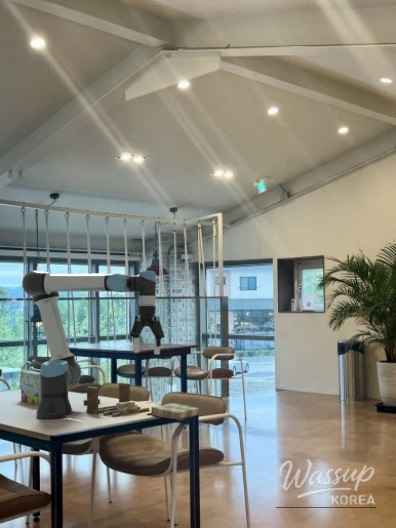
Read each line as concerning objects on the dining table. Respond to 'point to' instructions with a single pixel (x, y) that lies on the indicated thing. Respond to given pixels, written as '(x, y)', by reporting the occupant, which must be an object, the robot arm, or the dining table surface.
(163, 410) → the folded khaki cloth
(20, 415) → the dining table surface
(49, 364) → the robot arm
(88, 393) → the rack
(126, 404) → the offcut stack
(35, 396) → the snack box
